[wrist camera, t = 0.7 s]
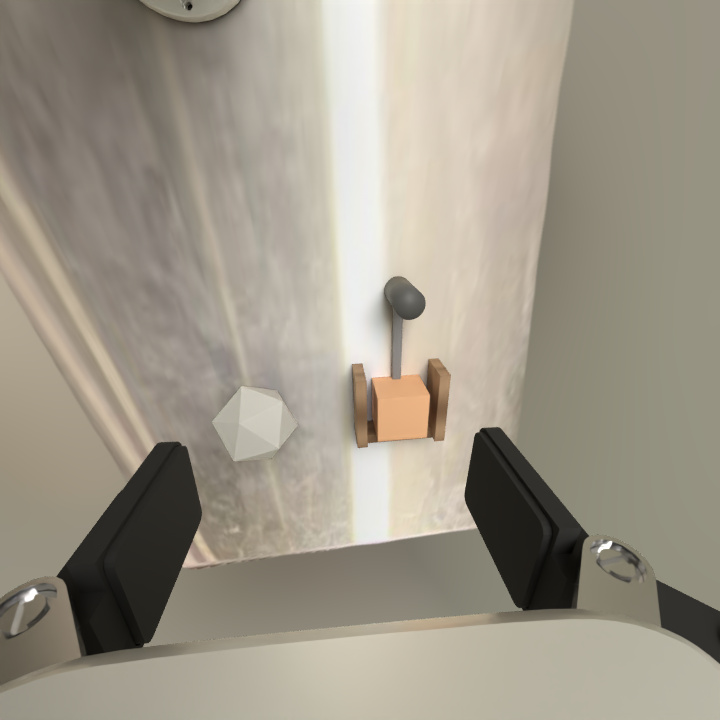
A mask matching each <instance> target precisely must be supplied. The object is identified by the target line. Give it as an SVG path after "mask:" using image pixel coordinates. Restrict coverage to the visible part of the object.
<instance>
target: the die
mask: <svg viewBox="0 0 720 720" xmlns="http://www.w3.org/2000/svg"><path fill="white" fill-rule="evenodd" d="M212 423H213V425H214V427H215V429H216V431H217V432H218V434H219V436H220V438H221V440H222V441H223V443H224V445H225V447H226V449H227V450H228V452H229V454H230V456H231V458H232V460H233V461H234V462H237V461H250V460H263V459H272V457H273V456H274V455H275V454H276V452H277V451H278V450H279V449H280V447H281V446H282V445H283V443H284V442H285V441H286V440H287V438H288V437H289V436H290V435H291V433H292V432H293V431H294V430H295V428H296V427H297V426H298V424H297V422H296V420H295V419H294V417H293V416H292V414H291V412H290V411H289V409H288V407H287V406H286V404H285V402H284V401H283V399H282V398H281V396H280V394H279V393H278V391H277V390H271V389H263V388H255V387H247V386H241V387H240V388H239V390H238V391H237V392H236V393H235V394H234V396H233V397H232V398H231V399H230V400H229V402H228V403H227V404H226V405H225V406H224V408H223V409H222V410H221V411H220V413H219V414H218V415H217V416H216V417H215V419H214V420H213V421H212Z"/></svg>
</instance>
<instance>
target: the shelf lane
mask: <svg viewBox="0 0 720 720" xmlns="http://www.w3.org/2000/svg"><path fill="white" fill-rule="evenodd" d="M352 370H353V397H354V424H355V435H356V442H357V446H358V448H363V447H368V443H373V442H378V440H377V436H376V431H375V427H374V423H373V421H367V383H366V377H365V373H364V369H363V366H362V364H352ZM450 378H451V375H450V374H449V372H448V371H447V370H446V368H445V367H444V365H443V364H442V363H441V361H440V360H439V359H429V365H428V379H427V390H428V392H429V394H430V403H429V415H428V428H427V437H426V438H431V437H433V439H434V441H443V440H444V435H445V426H446V416H447V407H448V397H449V388H450ZM414 439H419V438H414ZM403 440H408V439H403ZM391 441H396V440H391ZM380 442H385V441H380Z"/></svg>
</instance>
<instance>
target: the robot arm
mask: <svg viewBox="0 0 720 720" xmlns="http://www.w3.org/2000/svg"><path fill="white" fill-rule="evenodd" d="M140 1H141V2H142V3H143V4H145V5H146V6H147V7H149V8H151V9H152V10H154V11H156V12H158V13H160V14H162V15H164V16H166V17H169V18H172V19H175V20H179V21H184V22H203V21H209V20H213V19H215V18H217V17H219V16H222V15H224V14H226V13H227V12H228V11H229V10H231V9H232V8H233V7H234V6H235V5H237V4H238V3H239V1H240V0H140ZM189 5H192V6H193V7H192V9H191V10H189V11H188V6H189ZM465 501H466V504H467V507H468V509H469V511H470V513H471V515H472V517H473V519H474V521H475V523H476V525H477V527H478V529H479V531H480V534H481V535H482V537H483V540H484V542H485V544H486V546H487V548H488V550H489V552H490V554H491V556H492V558H493V560H494V562H495V565H496V566H497V569H498V571H499V573H500V575H501V577H502V579H503V581H504V583H505V585H506V587H507V589H508V591H509V594H510V595H511V598H512V600H513V602H514V603H515V605H516V606H517V607H518V608H522V609H523V611H514V612H499V613H487V614H477V615H476V614H475V615H464V616H453V617H442V618H430V619H419V620H408V621H398V622H387V623H376V624H366V625H355V626H344V627H334V628H324V629H313V630H303V631H293V632H282V633H273V634H263V635H253V636H243V637H234V638H224V639H213V640H203V641H193V642H185V643H176V644H168V645H159V646H151V647H143V645H144V643H149V642H150V641H151V639H152V637H153V635H154V633H155V631H156V628H157V626H158V623H159V621H160V619H161V616H162V614H163V611H164V609H165V606H166V604H167V602H168V599H169V597H170V594H171V592H172V589H173V587H174V584H175V582H176V580H177V577H178V575H179V572H180V570H181V568H182V565H183V563H184V560H185V558H186V555H187V553H188V550H189V548H190V546H191V543H192V541H193V538H194V536H195V533H196V531H197V529H198V526H199V524H200V521H201V516H202V510H201V505H200V501H199V496H198V492H197V488H196V484H195V479H194V475H193V471H192V467H191V462H190V458H189V454H188V450H187V447H186V446H182V445H181V443H180V442H160V443H158V444H157V445H156V446H155V447H154V448H153V450H152V451H151V452H150V454H149V455H148V456H147V458H146V459H145V460H144V462H143V463H142V464H141V466H140V467H139V468H138V470H137V471H136V473H135V474H134V475H133V477H132V478H131V479H130V481H129V482H128V483H127V485H126V486H125V487H124V489H123V490H122V491H121V492H120V493H119V494H118V495H117V496H116V498H115V499H114V500H113V501H112V503H111V504H110V506H109V507H108V508H107V510H106V511H105V512H104V513H103V515H102V516H101V517H100V519H99V520H98V521H97V523H96V524H95V526H94V527H93V528H92V530H91V531H90V532H89V534H88V535H87V536H86V538H85V539H84V540H83V542H82V543H81V544H80V546H79V547H78V548H77V550H76V551H75V552H74V554H73V555H72V556H71V558H70V559H69V560H68V562H67V563H66V564H65V566H64V567H63V568H62V570H61V571H60V572H59V574H58V575H57V576H56V577H42V578H38V579H34V580H31V581H29V582H27V583H25V584H22V585H20V586H18V587H17V588H15V589H13V590H12V591H10V592H8V593H7V594H5V595H4V596H3V597H2V598H0V720H720V611H718V610H716V609H714V608H712V607H710V606H708V605H705V604H704V603H702V602H700V601H698V600H696V599H694V598H692V597H690V596H688V595H686V594H684V593H682V592H680V591H678V590H676V589H674V588H672V587H670V586H668V585H666V584H664V583H661V582H660V581H658V580H656V577H655V574H654V571H653V568H652V567H651V566H650V564H649V563H648V561H647V560H646V559H645V558H644V557H643V556H642V555H641V554H640V553H639V552H638V551H637V550H635V549H634V548H632V547H631V546H630V545H628V544H626V543H624V542H622V541H620V540H618V539H616V538H613V537H610V536H607V535H598V534H597V535H591V536H589V535H588V534H587V533H586V532H585V531H584V529H583V528H582V527H581V526H580V524H579V523H578V522H577V521H576V519H575V518H574V517H573V516H572V515H571V513H570V512H569V511H568V510H567V509H566V507H565V506H564V505H563V504H562V502H560V500H559V499H558V497H557V496H556V495H555V494H554V493H553V491H552V490H551V489H550V488H549V487H548V485H547V484H546V483H545V482H544V481H543V479H542V478H541V477H540V475H539V474H538V473H537V472H536V471H535V470H534V469H533V467H532V466H531V465H530V464H529V462H528V461H527V460H526V459H525V457H524V456H523V455H522V454H521V453H520V451H519V450H518V449H517V448H516V446H515V445H514V444H513V443H512V441H511V440H510V439H509V438H508V437H507V435H506V434H505V433H504V432H503V430H502V429H501V428H499V427H493V428H482V429H481V430H480V432H479V433H476V434H475V437H474V443H473V448H472V454H471V460H470V465H469V471H468V477H467V483H466V488H465ZM142 647H143V648H142Z"/></svg>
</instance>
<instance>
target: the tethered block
mask: <svg viewBox="0 0 720 720" xmlns="http://www.w3.org/2000/svg"><path fill="white" fill-rule="evenodd" d="M384 293H385V296H386V298H387V299H388V301H389V302H390V304H391V305H392V307H393V323H392V376H391V377H378V378H372V419H373V423H374V427H375V431H376V436H377V440H378V442H380V441H391V440H403V439H414V438H426V437H427V428H428V415H429V403H430V394H429V392H428V390H427V389H426V387H425V385H424V383H423V382H422V380H421V378H420V376H419V375H406V376H401V352H402V321H403V319H406V320H412V319H415V318H417V317H418V316H420V315H421V314H422V312H423V311H424V309H425V298H424V296H423V295H422V293H421V292H419V291H418V290H417V289H416V288H415V287H414V286H413V285H412V284H411V283H410V282H409V281H408V280H406V279H405V278H403V277H393V278H391V279H390V280H389V281H388V282H387V283H386V285H385V289H384Z"/></svg>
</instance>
